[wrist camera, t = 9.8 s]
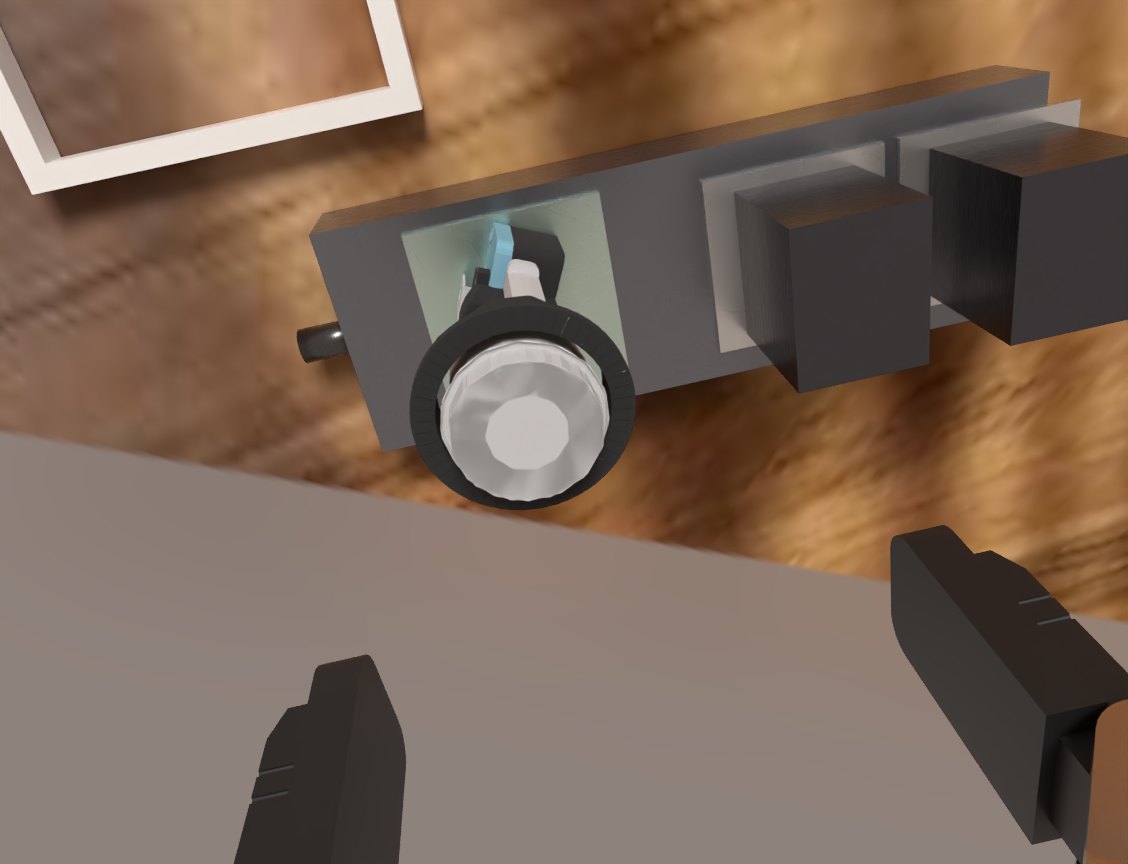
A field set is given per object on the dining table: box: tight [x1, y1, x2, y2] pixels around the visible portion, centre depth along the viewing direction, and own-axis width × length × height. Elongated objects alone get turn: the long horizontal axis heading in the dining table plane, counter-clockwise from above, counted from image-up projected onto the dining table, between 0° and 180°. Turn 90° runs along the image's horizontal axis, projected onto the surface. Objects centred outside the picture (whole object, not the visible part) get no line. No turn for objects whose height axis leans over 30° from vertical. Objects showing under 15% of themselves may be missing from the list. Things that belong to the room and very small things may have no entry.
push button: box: [409, 222, 636, 510], centre depth 23 cm, size 7×5×10 cm
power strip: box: [297, 65, 1128, 452], centre depth 27 cm, size 27×8×8 cm, turn 101°
